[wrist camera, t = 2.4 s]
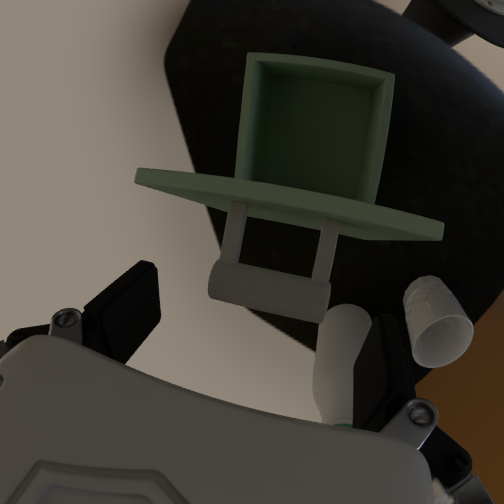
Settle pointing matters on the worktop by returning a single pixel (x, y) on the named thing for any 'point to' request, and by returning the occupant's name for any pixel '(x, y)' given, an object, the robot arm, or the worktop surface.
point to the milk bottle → (338, 361)
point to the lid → (291, 212)
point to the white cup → (435, 323)
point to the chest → (314, 124)
